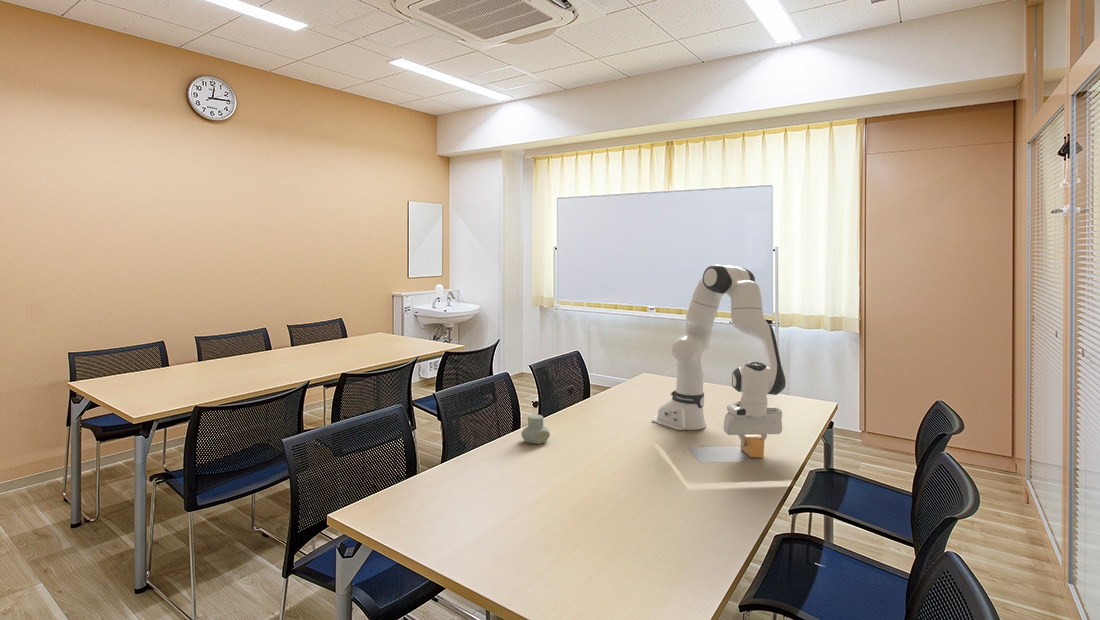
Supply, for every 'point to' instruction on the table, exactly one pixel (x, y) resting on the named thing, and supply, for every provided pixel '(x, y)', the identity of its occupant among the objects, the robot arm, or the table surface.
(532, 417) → the air freshener
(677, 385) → the robot arm
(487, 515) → the table surface
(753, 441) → the block
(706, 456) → the board
